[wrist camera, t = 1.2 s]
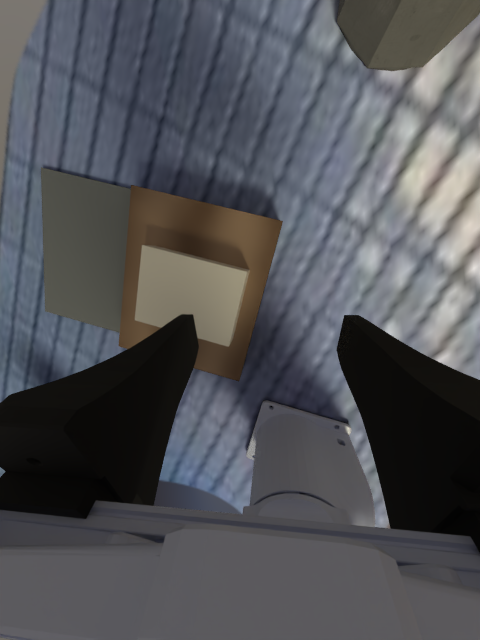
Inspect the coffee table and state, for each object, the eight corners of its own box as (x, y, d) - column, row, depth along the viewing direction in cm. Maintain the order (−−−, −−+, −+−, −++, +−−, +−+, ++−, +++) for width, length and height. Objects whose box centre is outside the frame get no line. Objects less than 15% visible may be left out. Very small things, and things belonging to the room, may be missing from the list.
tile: (249, 269, 18) (247, 271, 16) (233, 337, 20) (228, 346, 18) (155, 245, 19) (142, 244, 17) (147, 314, 21) (134, 320, 19)
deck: (281, 225, 20) (282, 221, 17) (243, 366, 24) (239, 381, 21) (151, 194, 21) (131, 184, 18) (136, 335, 25) (118, 346, 22)
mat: (145, 193, 21) (143, 192, 20) (132, 334, 25) (130, 335, 24) (45, 168, 21) (41, 167, 21) (48, 310, 25) (45, 311, 25)
